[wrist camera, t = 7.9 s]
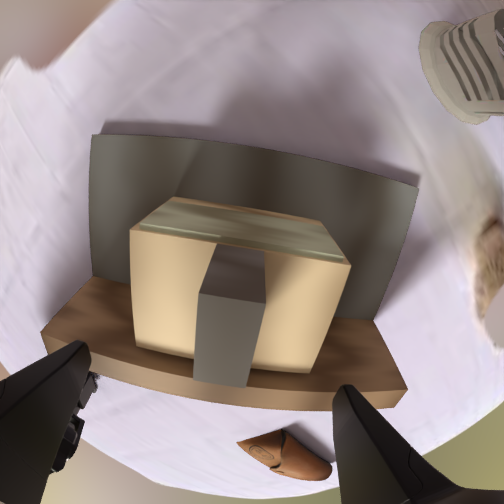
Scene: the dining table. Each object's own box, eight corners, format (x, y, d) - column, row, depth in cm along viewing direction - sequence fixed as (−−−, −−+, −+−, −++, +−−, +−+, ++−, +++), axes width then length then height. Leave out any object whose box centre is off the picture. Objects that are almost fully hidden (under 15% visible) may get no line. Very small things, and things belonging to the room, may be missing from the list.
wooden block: (168, 286, 21) (111, 397, 10) (173, 192, 18) (81, 260, 8) (296, 307, 21) (318, 430, 11) (321, 216, 18) (387, 310, 8)
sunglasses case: (230, 442, 32) (250, 473, 25) (267, 412, 33) (293, 439, 27) (289, 475, 37) (308, 497, 31) (317, 451, 39) (339, 471, 33)
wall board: (101, 294, 22) (50, 359, 14) (98, 134, 17) (13, 143, 9) (359, 335, 23) (390, 411, 15) (412, 186, 18) (491, 221, 10)
